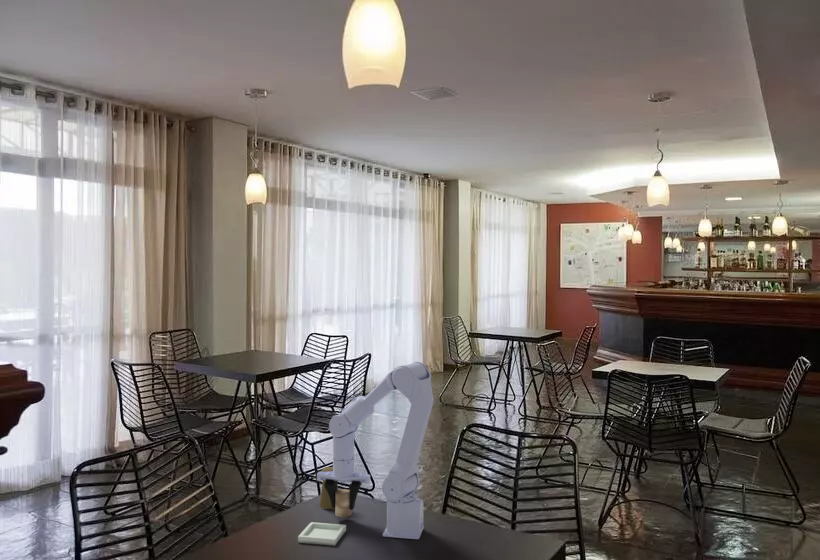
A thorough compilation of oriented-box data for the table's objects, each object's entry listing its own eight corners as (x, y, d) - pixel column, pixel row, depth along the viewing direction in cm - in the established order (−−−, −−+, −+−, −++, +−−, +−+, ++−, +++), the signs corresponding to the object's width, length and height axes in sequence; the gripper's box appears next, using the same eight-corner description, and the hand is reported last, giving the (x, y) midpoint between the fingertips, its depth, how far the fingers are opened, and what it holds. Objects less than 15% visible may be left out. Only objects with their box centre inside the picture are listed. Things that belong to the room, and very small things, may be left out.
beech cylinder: (353, 511, 174) (353, 489, 174) (348, 517, 170) (348, 495, 170) (337, 510, 175) (338, 488, 175) (333, 516, 171) (333, 494, 171)
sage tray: (346, 530, 165) (346, 524, 165) (335, 545, 156) (335, 539, 156) (311, 527, 167) (311, 522, 167) (297, 542, 158) (298, 536, 158)
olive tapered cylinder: (338, 509, 181) (338, 471, 181) (317, 509, 181) (317, 470, 181) (341, 502, 187) (341, 465, 187) (321, 502, 187) (321, 464, 187)
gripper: (372, 455, 175) (372, 504, 175) (322, 452, 178) (322, 501, 178) (366, 462, 168) (366, 513, 168) (314, 459, 171) (314, 510, 171)
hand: (343, 507), depth 173 cm, fingers closed on beech cylinder, 4 cm apart
